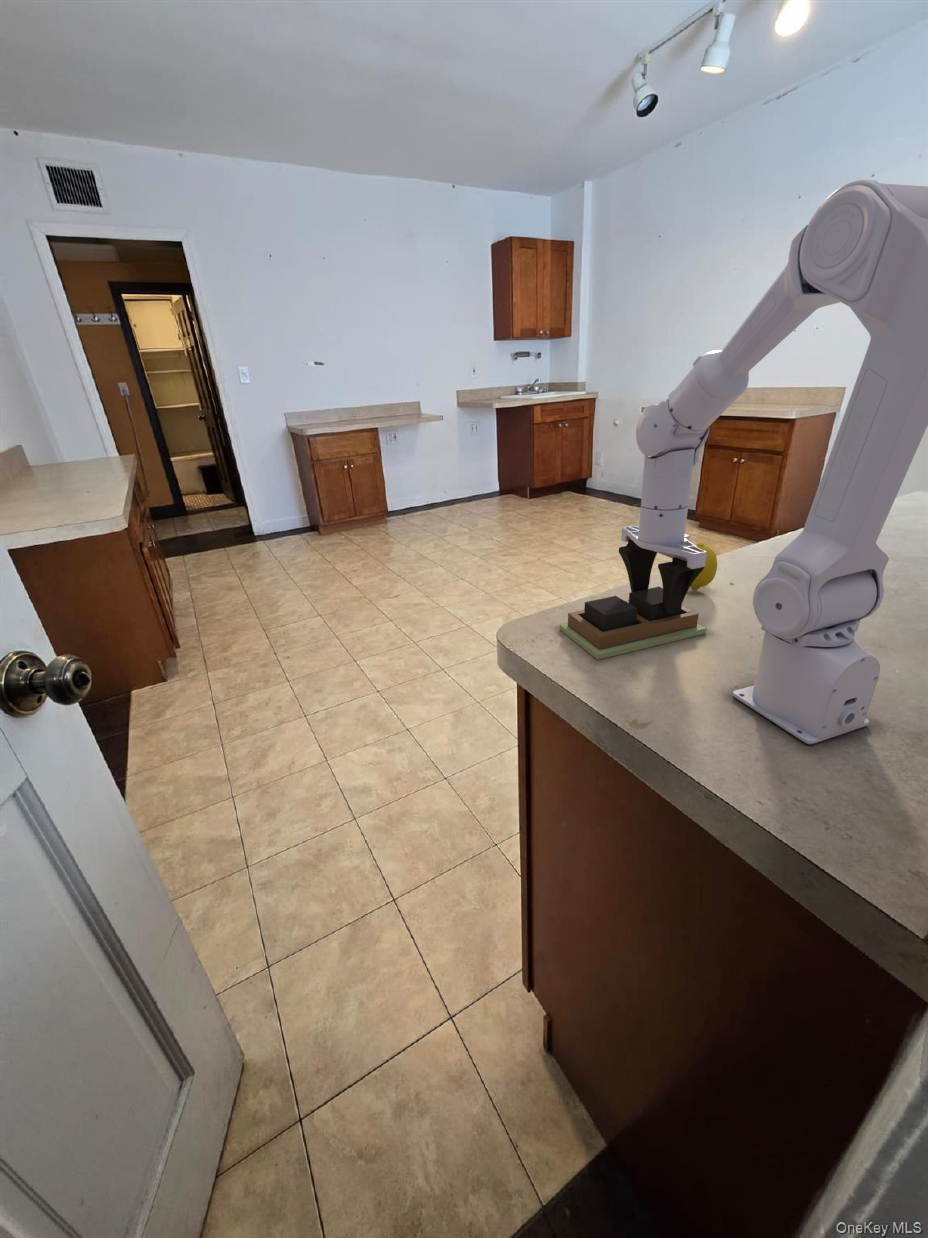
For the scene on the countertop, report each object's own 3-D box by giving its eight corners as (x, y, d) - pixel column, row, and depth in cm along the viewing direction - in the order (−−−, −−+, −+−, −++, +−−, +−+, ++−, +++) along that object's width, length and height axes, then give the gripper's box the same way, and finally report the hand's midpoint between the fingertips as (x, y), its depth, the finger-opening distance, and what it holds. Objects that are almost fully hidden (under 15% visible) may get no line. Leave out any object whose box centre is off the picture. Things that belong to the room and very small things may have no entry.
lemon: (717, 596, 81) (724, 548, 77) (679, 596, 82) (685, 548, 79) (709, 584, 86) (716, 537, 82) (674, 583, 87) (679, 538, 83)
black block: (679, 624, 71) (682, 598, 69) (649, 631, 70) (651, 604, 68) (656, 611, 75) (658, 586, 74) (627, 618, 74) (629, 592, 72)
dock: (706, 633, 70) (708, 614, 69) (597, 660, 65) (598, 640, 64) (658, 607, 79) (659, 590, 77) (559, 629, 74) (559, 611, 73)
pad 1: (635, 635, 69) (637, 608, 67) (603, 642, 68) (604, 615, 66) (614, 621, 73) (615, 595, 72) (583, 628, 72) (584, 601, 70)
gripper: (733, 511, 60) (717, 616, 66) (653, 492, 73) (645, 581, 79) (683, 520, 59) (671, 626, 64) (611, 498, 71) (606, 589, 77)
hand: (654, 602), depth 71 cm, fingers open, 6 cm apart
